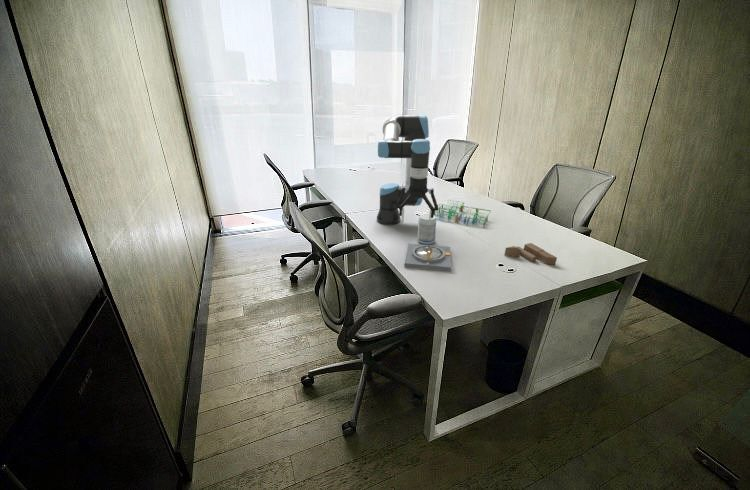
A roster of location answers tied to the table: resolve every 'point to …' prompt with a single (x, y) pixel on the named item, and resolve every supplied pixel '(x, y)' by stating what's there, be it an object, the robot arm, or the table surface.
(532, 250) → the wooden block set
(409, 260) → the dial plate
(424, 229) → the supplement tub
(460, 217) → the house model
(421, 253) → the dial
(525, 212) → the table surface
